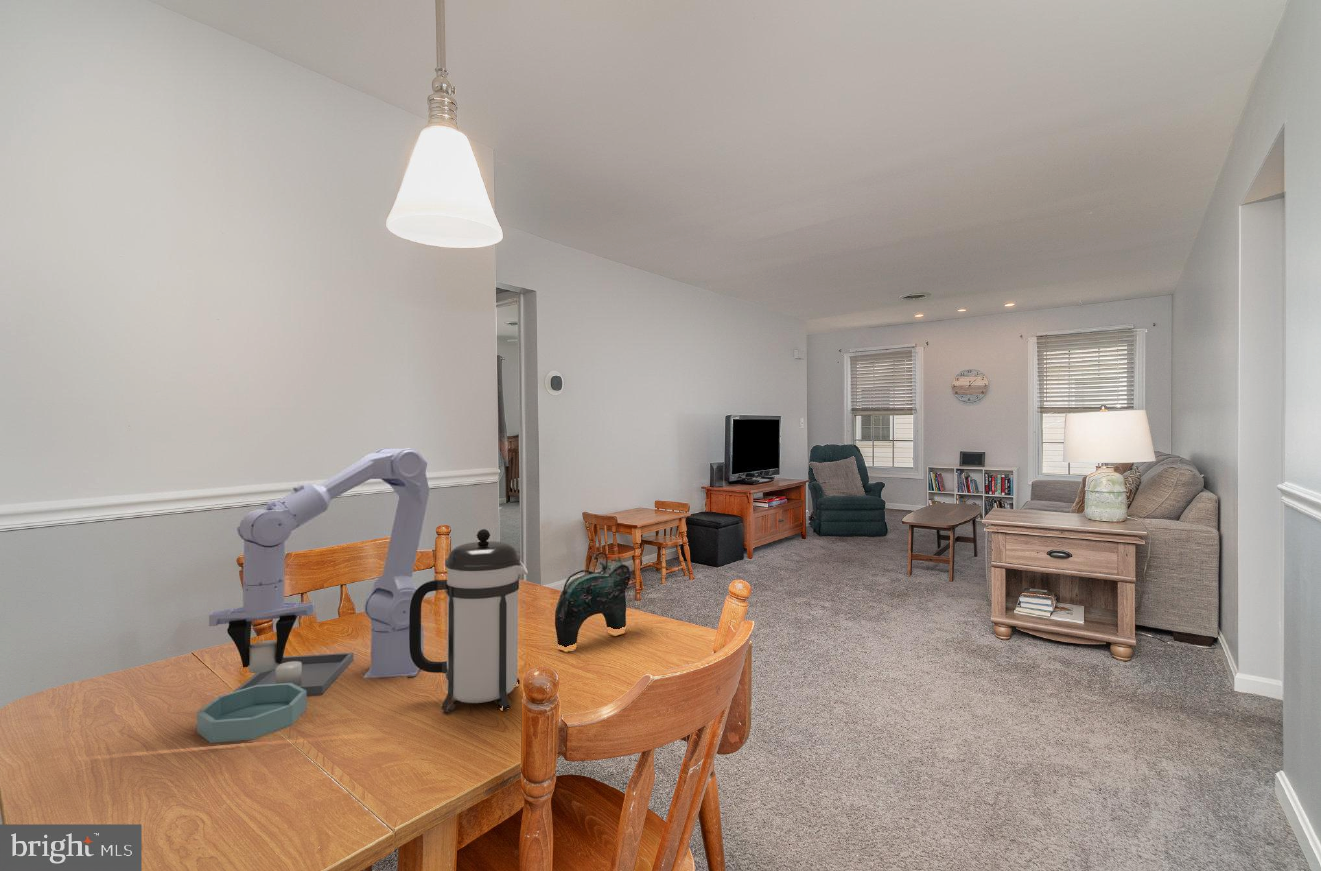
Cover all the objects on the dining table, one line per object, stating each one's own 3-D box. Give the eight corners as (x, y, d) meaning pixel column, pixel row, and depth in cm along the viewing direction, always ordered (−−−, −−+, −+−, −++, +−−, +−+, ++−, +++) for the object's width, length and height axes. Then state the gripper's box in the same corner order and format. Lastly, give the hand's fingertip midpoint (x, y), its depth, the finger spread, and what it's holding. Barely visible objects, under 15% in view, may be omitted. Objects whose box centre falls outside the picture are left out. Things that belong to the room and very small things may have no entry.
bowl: (315, 701, 102) (316, 681, 102) (280, 740, 89) (280, 717, 89) (230, 707, 100) (230, 686, 100) (180, 748, 86) (181, 724, 86)
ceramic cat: (618, 628, 142) (618, 546, 142) (636, 634, 137) (636, 549, 138) (550, 649, 128) (550, 557, 128) (568, 657, 123) (568, 562, 123)
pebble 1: (279, 662, 100) (280, 639, 100) (275, 670, 96) (275, 646, 96) (251, 666, 98) (252, 642, 98) (246, 674, 95) (246, 650, 95)
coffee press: (496, 672, 115) (497, 520, 115) (541, 699, 103) (542, 529, 103) (407, 700, 102) (408, 529, 103) (447, 733, 91) (448, 541, 91)
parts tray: (353, 662, 120) (353, 652, 120) (322, 697, 104) (322, 685, 104) (276, 667, 117) (276, 657, 117) (232, 703, 101) (232, 691, 101)
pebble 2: (305, 682, 109) (305, 660, 109) (295, 691, 105) (296, 668, 105) (281, 683, 108) (281, 662, 108) (271, 692, 104) (271, 670, 104)
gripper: (317, 572, 104) (316, 649, 104) (218, 580, 98) (217, 661, 98) (311, 581, 98) (311, 662, 98) (205, 590, 92) (204, 676, 92)
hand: (263, 663), depth 97 cm, fingers closed on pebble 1, 4 cm apart
